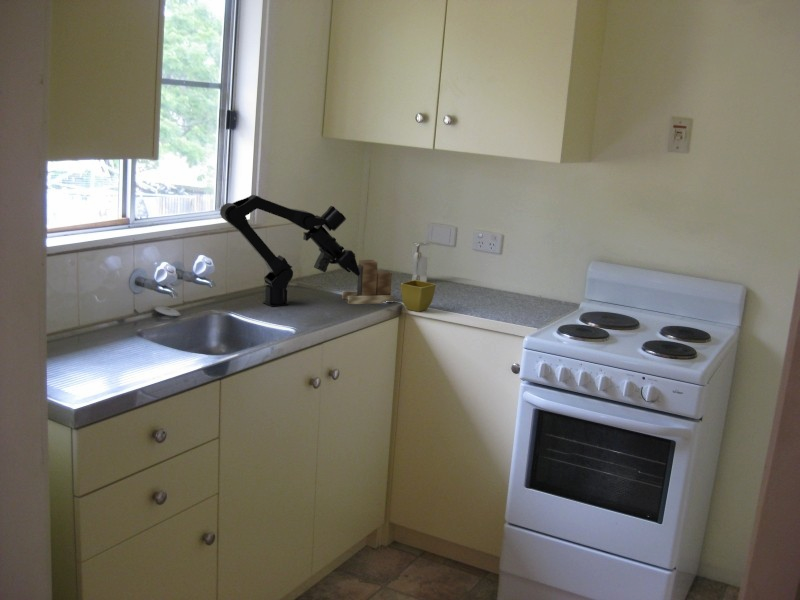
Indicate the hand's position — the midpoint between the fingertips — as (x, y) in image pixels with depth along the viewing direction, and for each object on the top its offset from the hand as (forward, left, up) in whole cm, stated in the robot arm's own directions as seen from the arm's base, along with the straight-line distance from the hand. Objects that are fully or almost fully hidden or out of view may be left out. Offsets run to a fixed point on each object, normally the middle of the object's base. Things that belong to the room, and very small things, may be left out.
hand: (354, 273), depth 304 cm
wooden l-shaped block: (+4, -2, -10) cm, 11 cm away
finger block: (+4, -2, -10) cm, 11 cm away
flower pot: (+12, -20, -10) cm, 25 cm away
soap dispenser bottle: (+42, +15, -10) cm, 46 cm away
